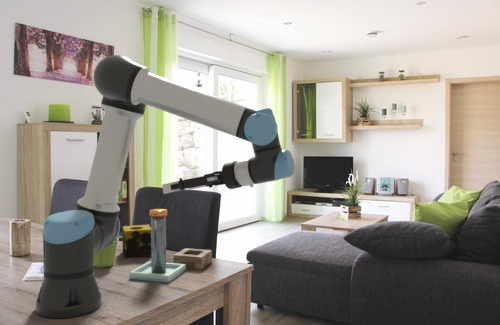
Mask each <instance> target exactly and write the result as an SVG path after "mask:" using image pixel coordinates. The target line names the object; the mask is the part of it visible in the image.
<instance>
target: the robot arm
mask: <svg viewBox="0 0 500 325" xmlns="http://www.w3.org/2000/svg"><path fill="white" fill-rule="evenodd" d="M93 83H94V86H95V88H96V90H97V92H98V93H100V95H101V96H102V97H101V98H102V99H101V102H100V106H101V108H102V110H104V115H103V120H102V124H101V128H100V131H99V134H98V138H97V139H98V140H97V143H96V148H95V152H94V156H93V160H92V164H91V169H90V173H89V176H88V181H87V185H86V189H85V194H84V195H83V197H81V198H78V199H77V201H76V206H75V208H74V209H72V210H65V211H59V212H56V213H55V212H54V213H53V214H51V215H49V216H47V217H46V218H45V220H44V222H43V228H42V229H43V230H42V248H43V249H42V250H43V251H42V253H43V255H42V256H43V265H42V266H43V279H42V283H41V286H40V289H39V292H38V295H37V298H36V301H35V313H36V314H37V315H38V316H40V317H42V318H46V319H48V318H49V319H67V318H68V319H69V318H75V317H79V316H83V315H87V314H90V313H92V312H94V311H96V310H98V309H99V308H100V307H101V305H102V292H101V291H100V287H99V285H98V282H97V279H96V275H95V265H94V254H95V253H97V252H99V251H101V250H103V249H105V248H106V247H108V246H109V245H111V244H112V243H113V241H114V240H115V239H116V238H118V236H119V234H120V229H121V221H120V219H119V215H120V211H121V208H120V206H119V205H118V203H117V200H118V196H119V192H120V188H121V185H122V179H123V176H124V172H125V168H126V164H127V159H128V157H129V151H130V148H131V144H132V140H133V137H134V136H133V135H134V131H135V127H136V125H137V121H138V120H139V119H141V118H143V117H144V114H145V111H146V108H147V106H149V107H152V108H155V109H157V110H161V111H164V112H165V113H169V114H171V115H175V116H177V117H179V118H183V119H185V120H188V121H192V122H194V123H195V124H196V123H197V124H200V125H203V126H205V127H208V128H211V129H213V130H216V131H219V132H222V133H225V134H228V135H231V136H233V137H236V138H238V139H241V140H244V141H246V142H250V143H251V145H252V150H253V154H254V156H252V157H250V156H249V157H246V158H242V159H238V160H235V161H229V162H226V163H224V164H223V165H222V167H221V170H219V171H218V170H217V171H213V172H211V173H205V174H204V175H202V176H197V177H192V178H187V179H183V178H182V177H180V178H178V179H179V180H177V181H173V182H167V183H163V184H161V187H162V192H163V195H165V194H171V193H176V192H180V191H185V190H189V191H190V190H196V189H201V188H205V187H208V189H211V188H213V187H214V186H215V187H216V186H222V185H225V187H226V188H228V189H229V190H233V189H239V188H242V187H248V186H250V188H253V187H254V185H258V184H263V183H270V182H275V181H279V180H284V179H286V178H291V177H292V176H293V175H294V173H295V160H294V158H293V155H292V153H291V151H290V150H288V149H283V148H282V146H281V143H280V137H279V132H278V129H279V127H278V124H277V122H276V117H275V115H274V112H273V110H272V109H271V108H270V107H269V108H267V107H266V108H261V109H256V110H255V109H252V108H248V107H246V106H244V105H240V104H238V103H235V102H232V101H229V100H226V99H225V98H221V97H219V96H215V95H213V94H210V93H208V92H204V91H202V90H199V89H195V88H193V87H190V86H187V85H185V84H183V83H179V82H177V81H174V80H172V79H171V80H170V79H168V78H165V77H162V76H159V75H156V74H154V73H151V71H150V69H149V68H148V67H147V66H144V65H141V64H139V63H137V62H135V61H133V60H132V59H130V58H128V56H127V57H126V56H125V55H120V54H119V55H118V54H113V55H109V56H108V55H107V56H106V57H103V58H102V59H101V60H100V61H98V63H97V65H96V66H95V68H94V71H93Z"/></svg>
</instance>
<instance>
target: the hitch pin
mask: <svg viewBox="0 0 500 325" xmlns="http://www.w3.org/2000/svg"><path fill="white" fill-rule="evenodd" d="M149 216H150V227H151V256H150V257H151V258H150V261H151V271H152V273H154V274H163V273H165V272H166V263H167V225H166V224H167V216H168V209H165V208H154V209H150V210H149Z"/></svg>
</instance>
